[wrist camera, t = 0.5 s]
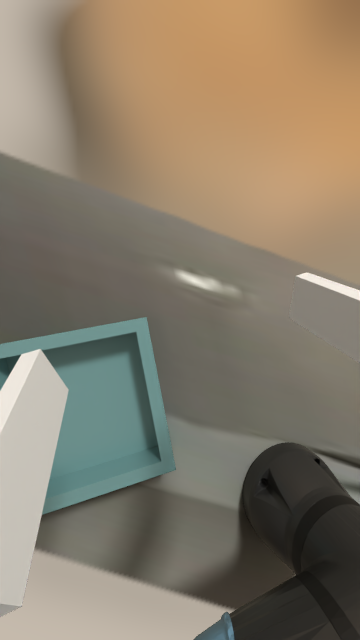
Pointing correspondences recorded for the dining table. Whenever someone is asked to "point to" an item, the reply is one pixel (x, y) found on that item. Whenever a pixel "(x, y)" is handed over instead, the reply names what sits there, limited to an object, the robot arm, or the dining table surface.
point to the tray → (102, 410)
